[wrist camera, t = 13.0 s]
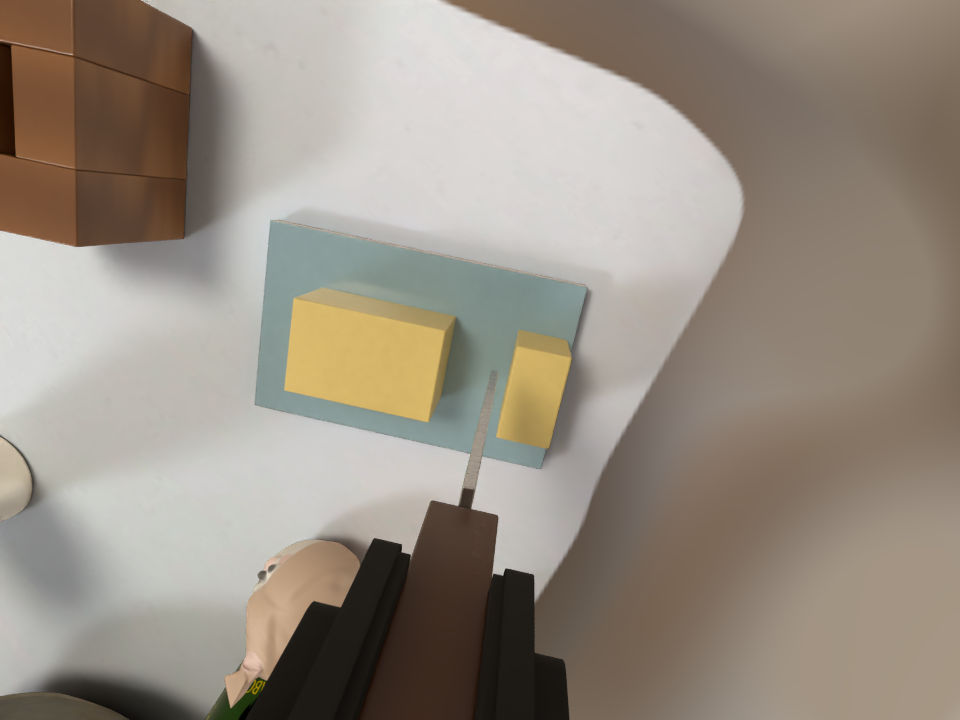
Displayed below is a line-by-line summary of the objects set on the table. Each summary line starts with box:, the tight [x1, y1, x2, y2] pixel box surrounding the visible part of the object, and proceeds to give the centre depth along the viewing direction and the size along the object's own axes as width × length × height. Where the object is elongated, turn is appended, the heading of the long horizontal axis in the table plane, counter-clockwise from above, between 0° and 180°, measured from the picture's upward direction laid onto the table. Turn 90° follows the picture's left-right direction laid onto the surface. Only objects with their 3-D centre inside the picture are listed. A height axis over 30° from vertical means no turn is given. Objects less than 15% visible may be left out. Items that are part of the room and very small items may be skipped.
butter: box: [284, 288, 456, 422], centre depth 26 cm, size 4×7×4 cm, turn 79°
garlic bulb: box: [224, 539, 361, 708], centre depth 29 cm, size 7×6×8 cm
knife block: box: [0, 0, 192, 247], centre depth 24 cm, size 10×6×7 cm, turn 169°
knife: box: [358, 370, 499, 720], centre depth 13 cm, size 3×2×17 cm, turn 169°
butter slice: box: [496, 330, 572, 449], centre depth 26 cm, size 4×2×4 cm, turn 169°
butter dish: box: [255, 220, 587, 469], centre depth 28 cm, size 10×16×1 cm, turn 79°
